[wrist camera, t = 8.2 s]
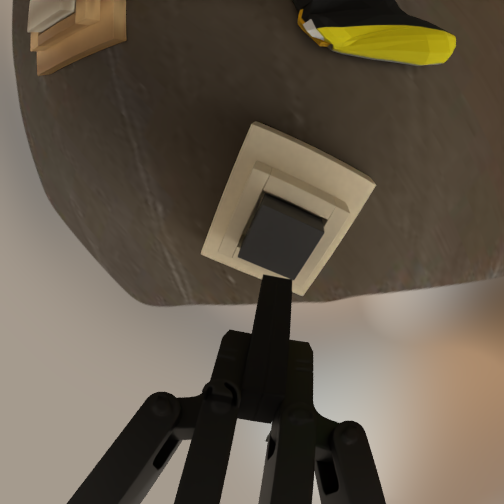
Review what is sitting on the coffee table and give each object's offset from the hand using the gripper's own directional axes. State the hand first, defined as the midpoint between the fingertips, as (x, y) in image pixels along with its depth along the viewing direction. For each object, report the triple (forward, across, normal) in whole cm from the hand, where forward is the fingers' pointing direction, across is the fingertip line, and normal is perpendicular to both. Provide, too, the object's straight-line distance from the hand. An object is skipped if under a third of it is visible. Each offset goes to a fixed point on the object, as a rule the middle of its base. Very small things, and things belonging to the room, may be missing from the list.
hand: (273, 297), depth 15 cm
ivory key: (+7, -21, +19) cm, 29 cm away
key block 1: (+10, -21, +19) cm, 30 cm away
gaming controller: (+10, +2, +20) cm, 23 cm away
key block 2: (+10, 0, 0) cm, 10 cm away
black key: (+7, 0, 0) cm, 7 cm away
